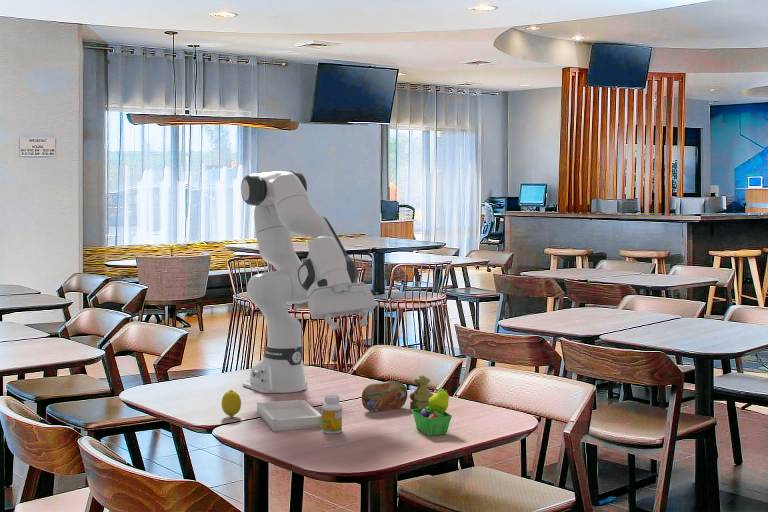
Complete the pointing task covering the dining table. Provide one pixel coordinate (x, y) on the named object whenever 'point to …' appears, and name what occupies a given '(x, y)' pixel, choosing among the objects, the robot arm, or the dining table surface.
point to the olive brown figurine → (420, 394)
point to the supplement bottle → (331, 415)
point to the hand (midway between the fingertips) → (350, 327)
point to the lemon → (231, 403)
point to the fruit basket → (434, 415)
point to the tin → (384, 396)
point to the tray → (289, 415)
